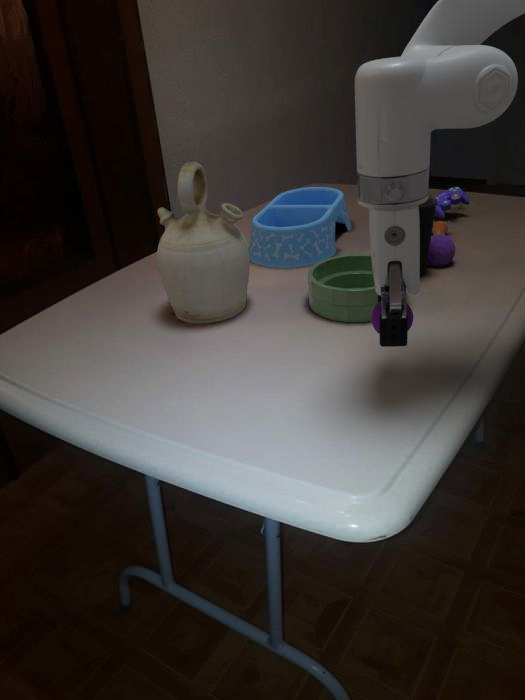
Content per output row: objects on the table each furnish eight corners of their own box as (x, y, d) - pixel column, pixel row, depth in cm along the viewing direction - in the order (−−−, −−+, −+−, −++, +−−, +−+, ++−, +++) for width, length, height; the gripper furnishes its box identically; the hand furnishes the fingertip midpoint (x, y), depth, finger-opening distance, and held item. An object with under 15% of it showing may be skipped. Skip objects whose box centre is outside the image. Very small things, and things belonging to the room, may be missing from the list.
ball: (411, 325, 71) (411, 289, 68) (414, 345, 67) (415, 307, 64) (371, 326, 72) (370, 291, 69) (372, 346, 68) (371, 309, 65)
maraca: (457, 217, 116) (459, 242, 99) (450, 244, 119) (450, 274, 101) (428, 212, 117) (425, 236, 100) (421, 239, 120) (417, 267, 103)
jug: (271, 298, 99) (257, 152, 86) (220, 337, 88) (196, 175, 75) (203, 287, 106) (182, 150, 94) (148, 321, 95) (116, 172, 83)
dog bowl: (324, 272, 107) (323, 230, 103) (234, 268, 113) (229, 228, 109) (358, 219, 134) (358, 184, 130) (284, 218, 141) (281, 184, 136)
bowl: (400, 284, 99) (401, 252, 96) (407, 324, 86) (409, 289, 83) (313, 286, 102) (311, 255, 99) (306, 326, 88) (304, 291, 85)
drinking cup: (406, 286, 98) (410, 170, 88) (382, 272, 104) (383, 162, 94) (442, 276, 100) (450, 162, 90) (416, 264, 106) (421, 155, 96)
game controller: (444, 210, 121) (416, 193, 128) (446, 240, 127) (419, 221, 134) (482, 189, 122) (452, 172, 129) (482, 219, 128) (453, 202, 135)
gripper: (438, 206, 52) (431, 370, 61) (420, 165, 67) (417, 302, 76) (357, 212, 53) (361, 371, 63) (357, 170, 68) (360, 304, 77)
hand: (392, 332), depth 69 cm, fingers closed on ball, 4 cm apart
